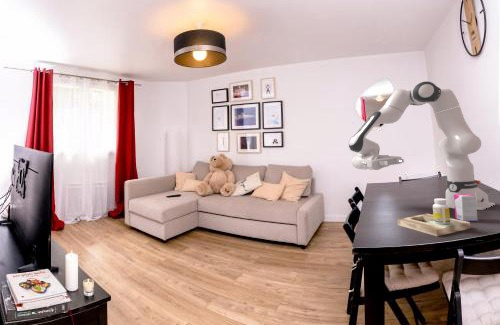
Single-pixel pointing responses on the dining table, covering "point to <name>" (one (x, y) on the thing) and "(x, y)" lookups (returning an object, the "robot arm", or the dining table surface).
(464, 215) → the supplement box
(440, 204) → the supplement bottle
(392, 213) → the dining table surface
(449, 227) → the pit board
